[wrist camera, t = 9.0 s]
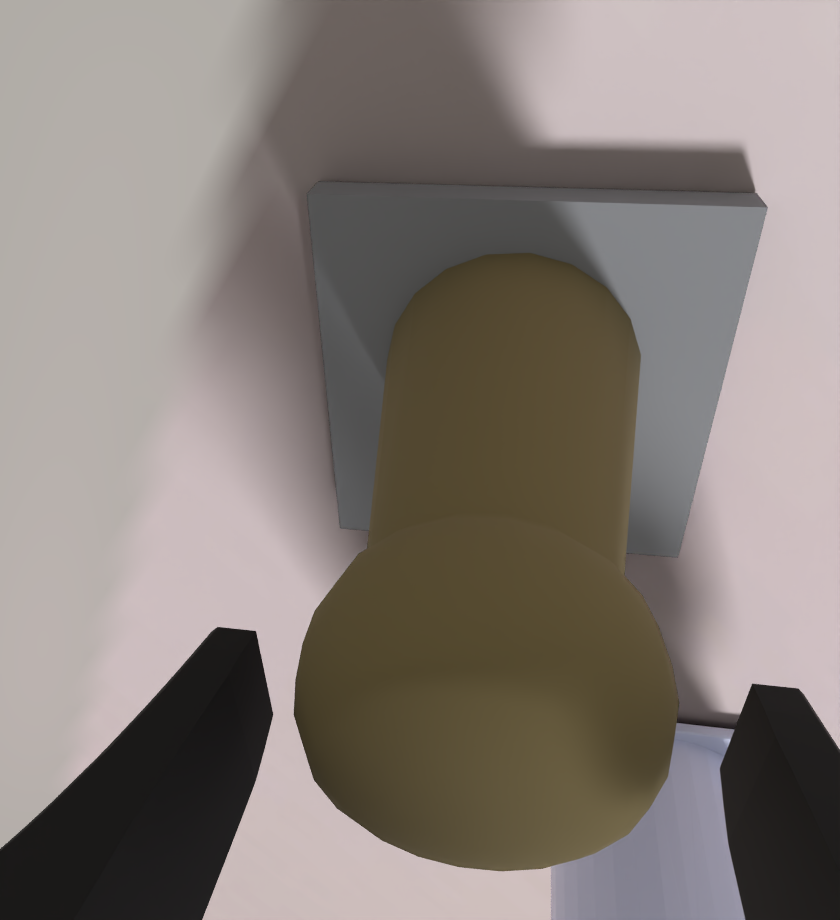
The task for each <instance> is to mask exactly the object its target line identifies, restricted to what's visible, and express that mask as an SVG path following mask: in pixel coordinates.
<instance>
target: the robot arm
mask: <svg viewBox="0 0 840 920" xmlns="http://www.w3.org/2000/svg"><path fill="white" fill-rule="evenodd" d="M272 717H273V712H272V707H271V702H270V697H269V692H268V687H267V683H266V678H265V673H264V668H263V663H262V659H261V654H260V649H259V644H258V639H257V634H256V631H250V630H240V629H231V628H221V627H217V628H216V629H215V630H213V631H212V632H211V633H210V634H209V635H208V637H207V638H206V639H205V640H204V641H203V642H202V644H201V645H200V646H199V647H198V648H197V649H196V650H195V652H194V653H193V654H192V655H191V656H190V657H189V659H188V660H187V661H186V662H185V663H184V664H183V665H182V667H181V668H180V669H179V670H178V671H177V672H176V673H175V675H174V676H173V677H172V678H171V679H170V680H169V681H168V682H167V684H166V685H165V686H164V687H163V688H162V689H161V690H160V691H159V693H158V694H157V695H156V696H155V697H154V698H153V699H152V700H151V701H150V703H149V704H148V705H147V706H146V707H145V708H144V709H143V710H142V711H141V712H140V713H139V714H138V715H137V716H136V718H135V719H134V720H133V721H132V722H131V723H130V724H129V725H128V726H127V727H126V728H125V729H124V730H123V731H122V732H121V734H120V735H119V736H118V737H117V738H116V739H115V740H114V741H113V742H112V743H111V744H110V745H109V746H108V747H107V748H106V749H105V750H104V751H103V752H102V753H101V754H100V755H99V757H98V758H97V759H96V760H94V761H93V762H92V763H91V764H90V765H89V766H88V767H87V768H86V769H85V770H84V771H83V772H82V773H81V774H80V775H79V776H78V777H77V778H76V779H75V780H74V781H73V782H72V783H71V784H70V785H69V786H68V787H67V788H66V789H65V790H64V791H63V792H62V793H61V794H60V795H59V796H58V797H57V798H56V799H55V800H54V801H53V802H52V803H51V804H49V805H48V806H47V807H46V808H45V809H44V810H43V811H42V812H41V813H40V814H39V815H38V816H37V817H35V818H34V819H33V820H32V821H31V822H30V823H29V824H28V825H27V826H26V827H25V828H24V829H22V830H21V831H20V832H19V833H18V834H17V835H16V836H14V837H13V838H12V839H11V840H10V841H9V842H8V843H7V844H5V845H4V846H3V847H2V848H1V849H0V920H202V918H203V916H204V913H205V911H206V908H207V906H208V903H209V901H210V898H211V895H212V893H213V890H214V888H215V885H216V883H217V880H218V877H219V875H220V872H221V870H222V867H223V865H224V862H225V860H226V857H227V854H228V852H229V849H230V847H231V844H232V842H233V839H234V836H235V834H236V831H237V829H238V826H239V823H240V821H241V818H242V816H243V813H244V810H245V808H246V805H247V803H248V800H249V797H250V795H251V792H252V789H253V787H254V784H255V781H256V778H257V774H258V771H259V767H260V763H261V760H262V756H263V752H264V749H265V745H266V741H267V737H268V733H269V729H270V725H271V721H272ZM551 920H840V749H839V748H838V746H837V745H836V743H835V742H834V740H833V739H832V737H831V736H830V734H829V733H828V731H827V730H826V728H825V727H824V725H823V723H822V722H821V720H820V719H819V717H818V716H817V714H816V713H815V711H814V710H813V708H812V706H811V705H810V703H809V702H808V700H807V699H806V697H805V696H804V694H803V693H802V692H801V691H800V690H799V689H797V688H787V687H778V686H768V685H759V684H752V686H751V688H750V691H749V694H748V696H747V699H746V701H745V704H744V707H743V709H742V712H741V714H740V717H739V719H738V722H737V725H736V727H735V729H726V728H717V727H708V726H699V725H690V724H682V723H676V730H675V738H674V744H673V750H672V756H671V762H670V768H669V774H668V778H667V779H666V781H665V783H664V785H663V786H662V788H661V790H660V791H659V793H658V795H657V797H656V798H655V800H654V802H653V804H652V805H651V807H650V809H649V810H648V811H647V812H646V814H645V815H644V816H643V817H642V818H641V820H640V821H639V822H638V823H637V825H636V826H635V827H634V828H633V830H632V831H631V832H630V833H629V834H628V835H627V836H625V837H623V838H621V839H620V840H618V841H616V842H614V843H613V844H611V845H609V846H607V847H605V848H604V849H602V850H600V851H598V852H597V853H595V854H592V855H589V856H586V857H583V858H580V859H577V860H573V861H569V862H566V863H562V864H558V865H554V866H551Z"/></svg>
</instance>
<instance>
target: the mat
mask: <svg viewBox="0 0 840 920" xmlns="http://www.w3.org/2000/svg"><path fill="white" fill-rule="evenodd" d="M307 201H308V211H309V221H310V231H311V241H312V251H313V262H314V272H315V282H316V292H317V302H318V312H319V322H320V332H321V342H322V352H323V362H324V372H325V382H326V392H327V402H328V412H329V422H330V433H331V443H332V453H333V463H334V473H335V483H336V493H337V503H338V513H339V523H340V528H341V529H353V530H364V531H369V526H370V516H371V507H372V498H373V488H374V479H375V469H376V460H377V451H378V441H379V432H380V422H381V413H382V404H383V394H384V385H385V375H386V366H387V358H388V353H389V349H390V344H391V340H392V336H393V331H394V327H395V324H396V322H397V321H398V319H399V318H400V316H401V315H402V313H403V311H404V310H405V308H406V307H407V305H408V304H409V302H410V300H411V299H412V297H413V296H414V294H415V293H416V292H418V291H419V290H420V289H421V288H423V287H424V286H425V285H426V284H428V283H429V282H430V281H432V280H433V279H434V278H435V277H437V276H438V275H439V274H440V273H442V272H443V271H444V270H446V269H447V268H450V267H453V266H456V265H458V264H461V263H464V262H467V261H470V260H472V259H475V258H478V257H481V256H483V255H487V254H512V253H532V254H536V255H540V256H543V257H547V258H551V259H554V260H558V261H562V262H565V263H569V264H572V265H574V266H575V267H577V268H578V269H580V270H581V271H583V272H584V273H586V274H587V275H589V276H590V277H592V278H593V279H595V280H596V281H598V282H599V283H601V284H602V285H604V286H605V287H607V288H608V290H609V291H610V292H611V294H612V295H613V296H614V298H615V299H616V300H617V302H618V303H619V304H620V306H621V307H622V308H623V310H624V311H625V312H626V314H627V315H628V316H629V318H630V319H631V322H632V326H633V329H634V332H635V336H636V339H637V343H638V346H639V350H640V353H641V362H640V376H639V389H638V402H637V415H636V429H635V442H634V455H633V468H632V482H631V495H630V508H629V521H628V535H627V548H626V553H631V554H642V555H654V556H665V557H677V558H678V555H679V551H680V547H681V543H682V540H683V536H684V532H685V528H686V524H687V520H688V516H689V512H690V508H691V504H692V501H693V497H694V493H695V489H696V485H697V481H698V477H699V473H700V469H701V466H702V462H703V458H704V454H705V450H706V446H707V442H708V438H709V434H710V430H711V427H712V423H713V419H714V415H715V411H716V407H717V403H718V399H719V395H720V391H721V388H722V384H723V380H724V376H725V372H726V368H727V364H728V360H729V356H730V353H731V349H732V345H733V341H734V337H735V333H736V329H737V325H738V321H739V317H740V314H741V310H742V306H743V302H744V298H745V294H746V290H747V286H748V282H749V278H750V275H751V271H752V267H753V263H754V259H755V255H756V251H757V247H758V243H759V240H760V236H761V232H762V228H763V224H764V220H765V216H766V212H767V208H768V207H767V206H766V205H765V203H764V202H763V201H762V199H761V198H760V197H759V196H758V194H757V193H733V192H696V191H659V190H622V189H585V188H547V187H510V186H473V185H436V184H399V183H362V182H325V181H318V182H317V184H316V185H315V186H314V187H313V188H312V189H311V190H310V191H309V192H308V193H307Z"/></svg>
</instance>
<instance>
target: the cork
mask: <svg viewBox="0 0 840 920" xmlns="http://www.w3.org/2000/svg"><path fill="white" fill-rule="evenodd" d="M640 362H641V353H640V350H639V346H638V343H637V339H636V336H635V332H634V329H633V326H632V322H631V319H630V318H629V316H628V315H627V314H626V312H625V311H624V310H623V308H622V307H621V306H620V304H619V303H618V302H617V300H616V299H615V298H614V296H613V295H612V294H611V292H610V291H609V290H608V288H607V287H605V286H604V285H602V284H601V283H599V282H598V281H596V280H595V279H593V278H592V277H590V276H589V275H587V274H586V273H584V272H583V271H581V270H580V269H578V268H577V267H575V266H574V265H572V264H569V263H565V262H562V261H558V260H554V259H551V258H547V257H543V256H540V255H536V254H532V253H512V254H487V255H483V256H481V257H478V258H475V259H472V260H470V261H467V262H464V263H461V264H458V265H456V266H453V267H450V268H447V269H446V270H444V271H443V272H442V273H440V274H439V275H438V276H437V277H435V278H434V279H433V280H432V281H430V282H429V283H428V284H426V285H425V286H424V287H423V288H421V289H420V290H419V291H418V292H416V293H415V294H414V296H413V297H412V299H411V300H410V302H409V304H408V305H407V307H406V308H405V310H404V311H403V313H402V315H401V316H400V318H399V319H398V321H397V322H396V324H395V327H394V331H393V336H392V340H391V344H390V349H389V353H388V358H387V366H386V375H385V385H384V394H383V404H382V413H381V422H380V432H379V441H378V451H377V460H376V469H375V479H374V488H373V498H372V507H371V516H370V526H369V535H368V544H367V549H366V550H364V551H363V552H361V553H359V554H358V555H357V557H356V558H355V559H354V560H353V562H352V563H351V564H350V566H349V567H348V568H347V569H346V571H345V572H344V573H343V575H342V576H341V577H340V578H339V580H338V581H337V582H336V583H335V585H334V586H333V587H332V589H331V590H330V591H329V593H328V594H327V595H326V597H325V598H324V599H323V601H322V602H321V603H320V605H319V606H318V607H317V609H316V610H315V612H314V614H313V617H312V620H311V622H310V625H309V628H308V631H307V633H306V636H305V639H304V641H303V645H302V650H301V655H300V660H299V665H298V670H297V675H296V682H295V701H294V717H295V720H296V724H297V727H298V730H299V733H300V737H301V740H302V743H303V747H304V750H305V753H306V756H307V759H308V763H309V766H310V769H311V772H312V775H313V778H314V781H315V782H316V783H317V784H318V786H319V787H320V788H321V789H322V790H323V792H324V793H325V794H326V795H327V797H328V798H329V799H330V800H331V802H332V803H333V804H334V805H335V806H336V808H337V809H339V810H340V811H341V812H343V813H344V814H346V815H347V816H348V817H350V818H351V819H353V820H354V821H355V822H357V823H358V824H360V825H361V826H362V827H364V828H365V829H367V830H368V831H369V832H371V833H372V834H374V835H375V836H376V837H378V838H379V839H381V840H382V841H385V842H387V843H389V844H391V845H393V846H396V847H398V848H400V849H402V850H405V851H407V852H409V853H411V854H414V855H416V856H418V857H422V858H426V859H430V860H434V861H437V862H441V863H445V864H449V865H453V866H457V867H464V868H473V869H483V870H493V871H513V870H529V869H543V868H547V867H550V866H554V865H558V864H562V863H566V862H569V861H573V860H577V859H580V858H583V857H586V856H589V855H592V854H595V853H597V852H598V851H600V850H602V849H604V848H605V847H607V846H609V845H611V844H613V843H614V842H616V841H618V840H620V839H621V838H623V837H625V836H627V835H628V834H629V833H630V832H631V831H632V830H633V828H634V827H635V826H636V825H637V823H638V822H639V821H640V820H641V818H642V817H643V816H644V815H645V814H646V812H647V811H648V810H649V809H650V807H651V805H652V804H653V802H654V800H655V798H656V797H657V795H658V793H659V791H660V790H661V788H662V786H663V785H664V783H665V781H666V779H667V778H668V774H669V768H670V762H671V756H672V750H673V744H674V738H675V730H676V723H677V716H678V708H679V699H678V694H677V688H676V683H675V678H674V672H673V667H672V664H671V661H670V658H669V655H668V652H667V649H666V647H665V644H664V641H663V638H662V635H661V632H660V630H659V627H658V624H657V623H656V621H655V619H654V617H653V615H652V613H651V611H650V609H649V607H648V605H647V603H646V601H645V599H644V598H643V596H642V595H641V593H640V592H639V591H638V590H637V589H636V588H635V587H634V586H633V585H632V584H631V582H630V581H629V580H628V579H627V578H626V577H625V576H624V574H625V561H626V548H627V535H628V521H629V508H630V495H631V482H632V468H633V455H634V442H635V429H636V415H637V402H638V389H639V376H640Z"/></svg>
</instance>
